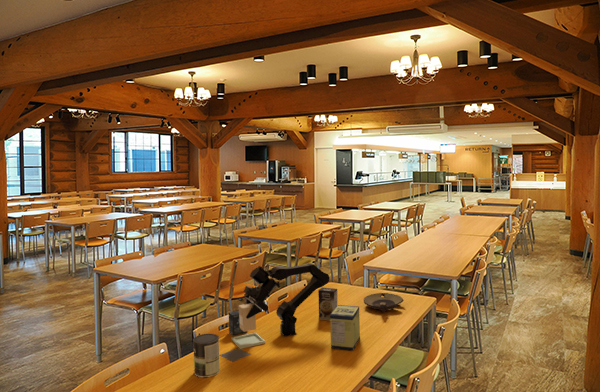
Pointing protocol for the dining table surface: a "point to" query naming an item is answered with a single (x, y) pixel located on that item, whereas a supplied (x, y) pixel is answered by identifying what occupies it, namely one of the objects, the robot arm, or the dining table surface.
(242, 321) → the carton
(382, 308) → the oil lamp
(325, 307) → the coffee box
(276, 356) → the dining table surface
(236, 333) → the box
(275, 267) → the robot arm
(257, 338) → the tray
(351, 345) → the protein box
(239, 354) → the mat
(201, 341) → the coffee can
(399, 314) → the dining table surface
